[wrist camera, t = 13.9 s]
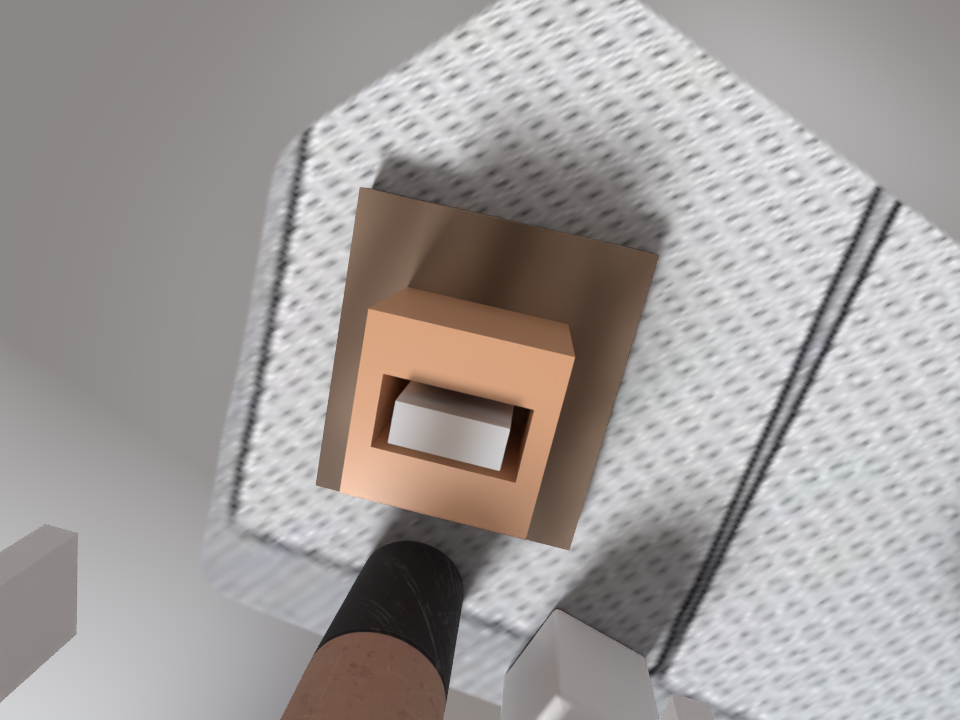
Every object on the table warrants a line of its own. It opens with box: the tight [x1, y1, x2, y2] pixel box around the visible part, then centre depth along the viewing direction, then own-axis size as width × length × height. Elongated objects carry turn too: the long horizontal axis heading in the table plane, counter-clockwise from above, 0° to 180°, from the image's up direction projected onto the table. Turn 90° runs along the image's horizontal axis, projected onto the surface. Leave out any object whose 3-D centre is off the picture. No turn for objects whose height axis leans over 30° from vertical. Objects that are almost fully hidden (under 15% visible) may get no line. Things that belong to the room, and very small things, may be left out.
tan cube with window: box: [339, 287, 575, 540], centre depth 28 cm, size 9×9×7 cm
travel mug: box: [280, 541, 463, 720], centre depth 28 cm, size 8×8×20 cm
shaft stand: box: [316, 187, 659, 550], centre depth 28 cm, size 16×18×10 cm
